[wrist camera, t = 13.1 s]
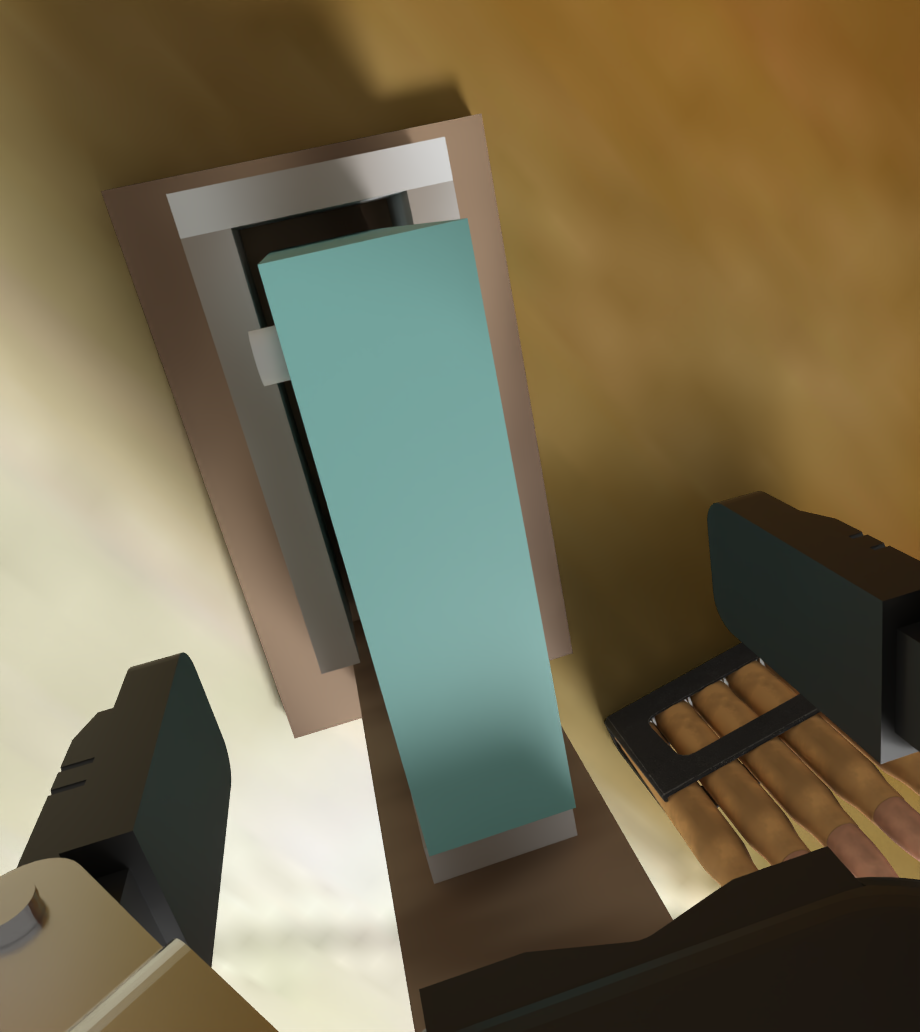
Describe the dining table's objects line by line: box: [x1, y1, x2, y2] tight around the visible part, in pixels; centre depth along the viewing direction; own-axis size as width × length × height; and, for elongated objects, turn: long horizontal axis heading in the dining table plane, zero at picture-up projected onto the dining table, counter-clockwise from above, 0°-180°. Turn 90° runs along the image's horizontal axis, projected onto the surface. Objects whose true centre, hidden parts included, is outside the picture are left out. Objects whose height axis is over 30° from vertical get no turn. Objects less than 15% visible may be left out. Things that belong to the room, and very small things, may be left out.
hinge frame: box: [101, 114, 673, 1032], centre depth 18 cm, size 11×19×18 cm, turn 11°
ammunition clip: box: [605, 643, 920, 887], centre depth 27 cm, size 11×2×12 cm, turn 115°
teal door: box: [248, 218, 576, 857], centre depth 18 cm, size 4×11×13 cm, turn 11°
